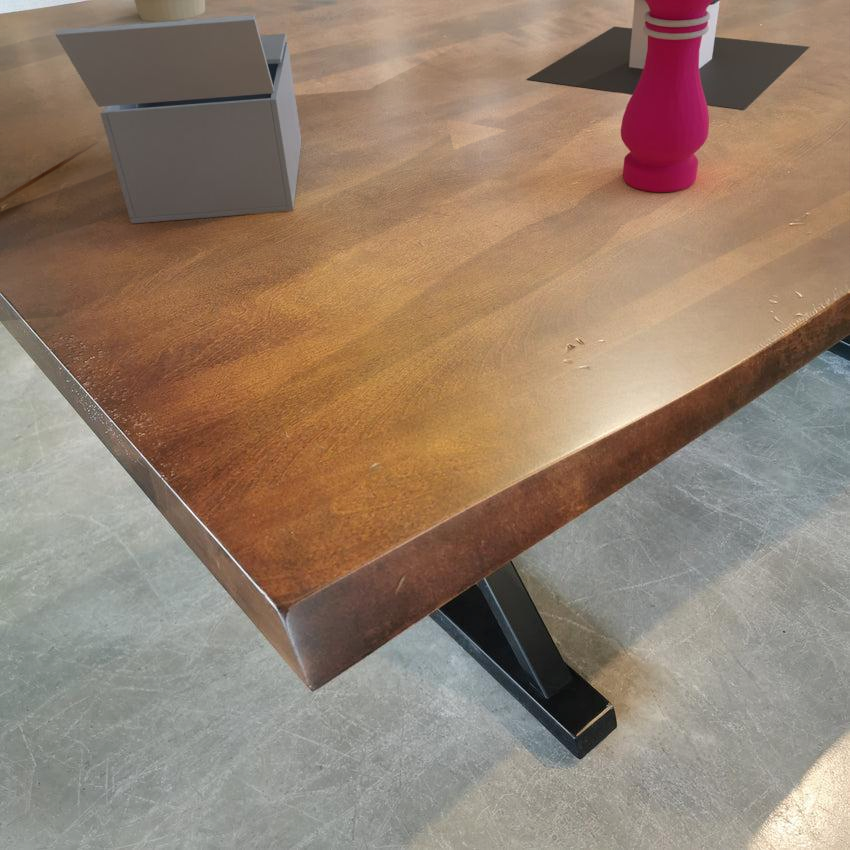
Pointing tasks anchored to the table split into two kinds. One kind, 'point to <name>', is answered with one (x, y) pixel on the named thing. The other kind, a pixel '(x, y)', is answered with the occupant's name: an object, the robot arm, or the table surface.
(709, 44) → the dark grey square mat
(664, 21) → the pepper mill
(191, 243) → the table surface
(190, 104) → the carton
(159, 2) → the reusable coffee cup
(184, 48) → the flap
